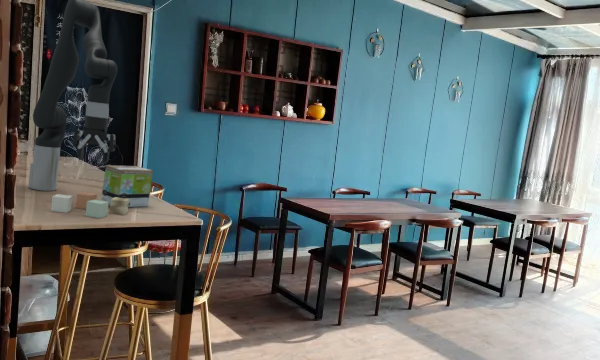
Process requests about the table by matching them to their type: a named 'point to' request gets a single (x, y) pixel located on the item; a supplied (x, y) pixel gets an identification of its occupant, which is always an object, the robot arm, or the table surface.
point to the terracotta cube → (84, 199)
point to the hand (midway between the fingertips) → (92, 161)
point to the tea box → (127, 184)
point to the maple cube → (119, 205)
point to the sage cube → (96, 208)
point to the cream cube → (61, 203)
